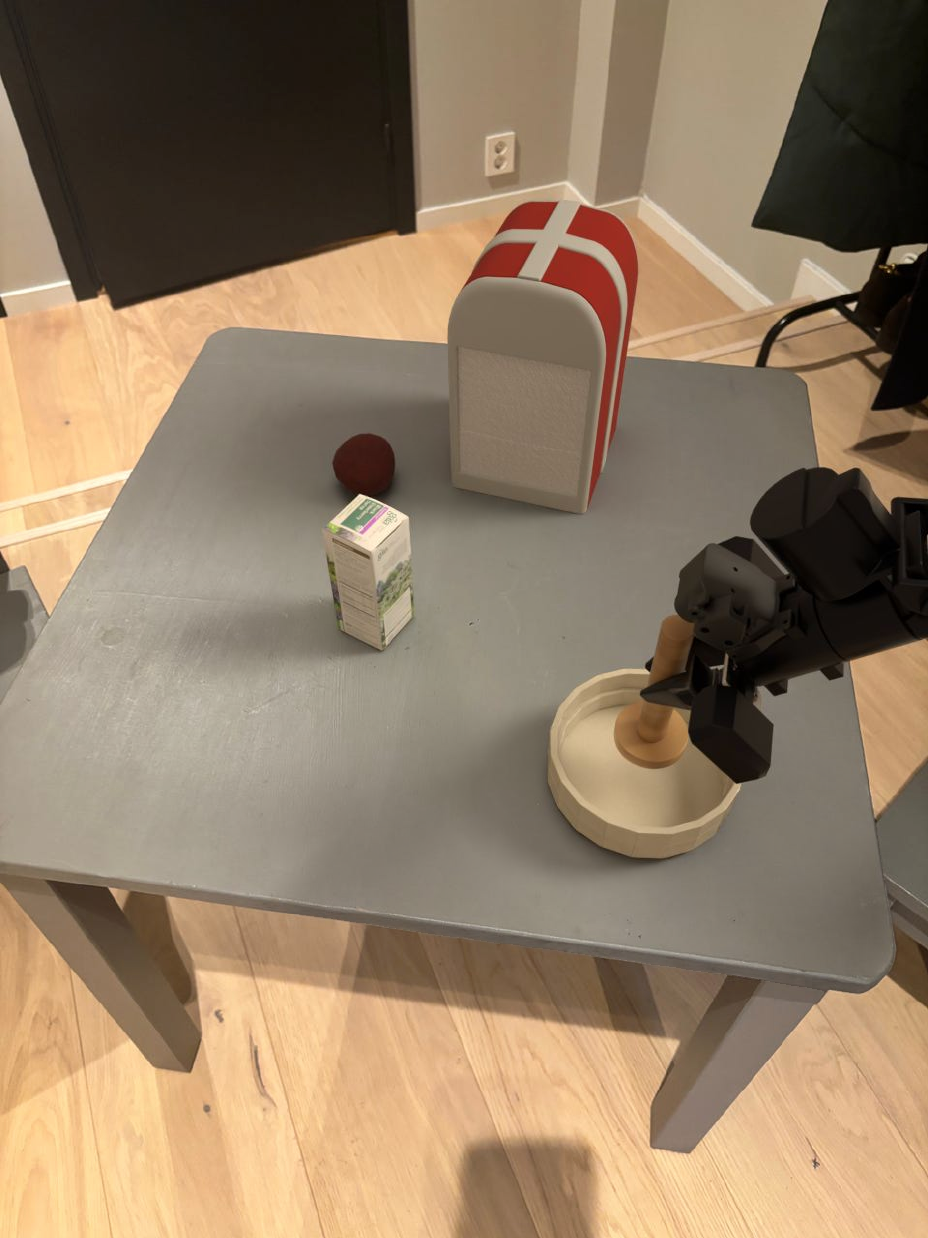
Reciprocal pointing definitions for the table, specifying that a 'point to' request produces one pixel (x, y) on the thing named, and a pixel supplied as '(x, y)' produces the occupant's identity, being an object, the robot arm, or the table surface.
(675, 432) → the table surface
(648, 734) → the tan wooden tall post
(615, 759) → the bowl
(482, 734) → the table surface
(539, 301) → the red white rounded box
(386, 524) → the syrup box
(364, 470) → the potato
